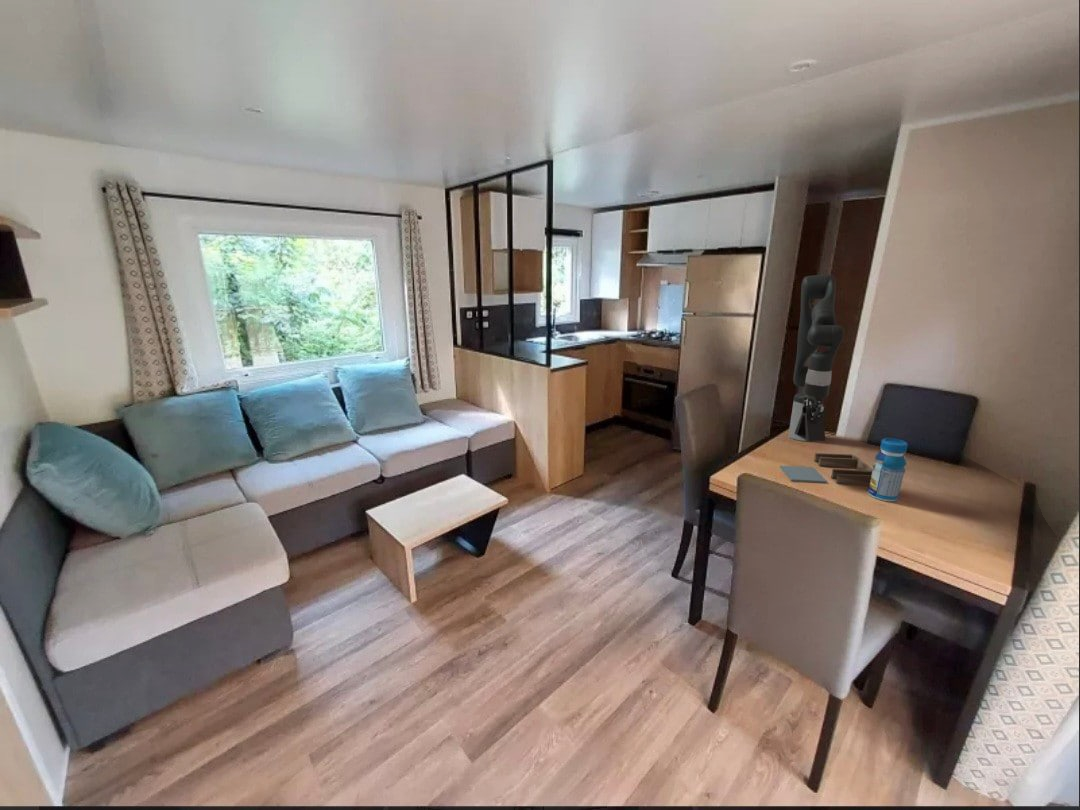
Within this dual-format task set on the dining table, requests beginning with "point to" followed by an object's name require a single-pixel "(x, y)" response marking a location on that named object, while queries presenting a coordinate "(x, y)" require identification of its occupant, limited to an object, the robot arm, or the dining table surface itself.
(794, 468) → the slate mat
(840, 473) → the walnut rack
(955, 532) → the dining table surface
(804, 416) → the phone stand
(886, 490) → the blue pill bottle
